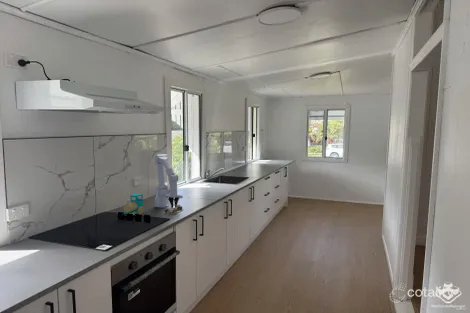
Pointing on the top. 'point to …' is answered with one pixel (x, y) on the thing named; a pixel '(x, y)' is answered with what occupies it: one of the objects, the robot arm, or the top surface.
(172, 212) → the tube
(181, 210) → the collar board
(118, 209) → the top surface
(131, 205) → the toy train
